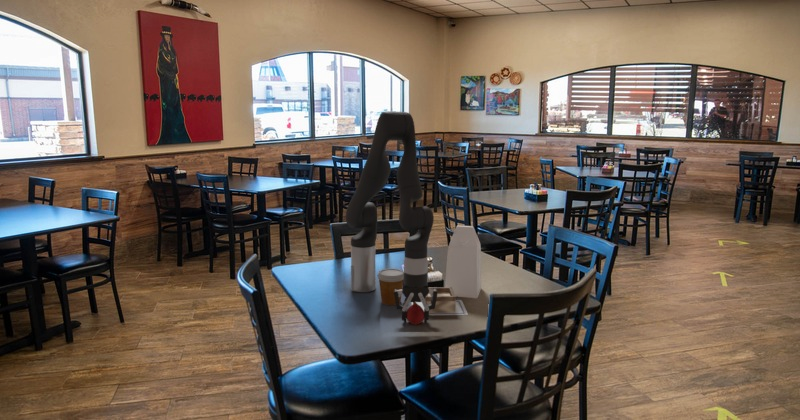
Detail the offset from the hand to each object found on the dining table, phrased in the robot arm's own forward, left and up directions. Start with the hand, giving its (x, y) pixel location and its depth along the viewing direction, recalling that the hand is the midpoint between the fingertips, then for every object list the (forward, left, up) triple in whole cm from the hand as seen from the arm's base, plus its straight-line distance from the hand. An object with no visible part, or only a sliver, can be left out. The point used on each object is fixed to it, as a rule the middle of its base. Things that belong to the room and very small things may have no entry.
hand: (415, 321), depth 175 cm
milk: (+20, +29, -2) cm, 35 cm away
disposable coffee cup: (-7, +19, -2) cm, 20 cm away
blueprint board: (+9, +13, -2) cm, 16 cm away
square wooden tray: (+9, +13, 0) cm, 16 cm away
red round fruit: (0, 0, -2) cm, 2 cm away
